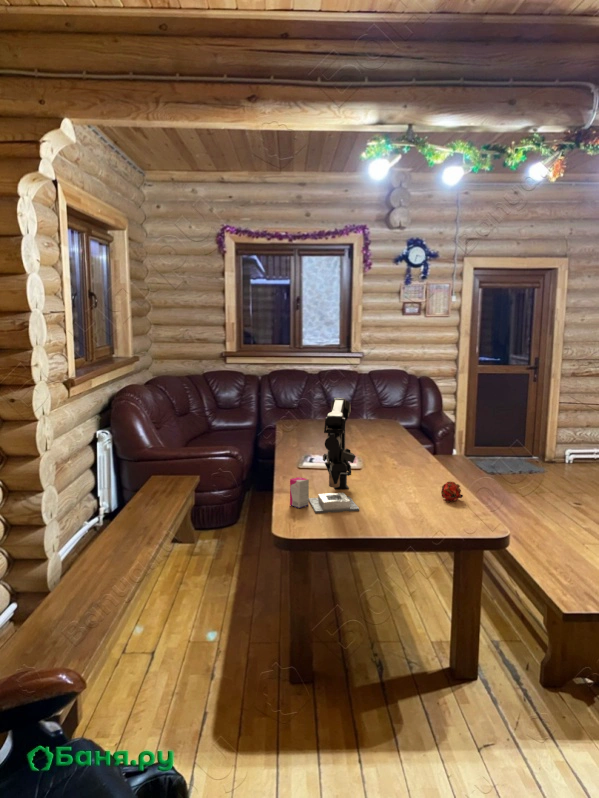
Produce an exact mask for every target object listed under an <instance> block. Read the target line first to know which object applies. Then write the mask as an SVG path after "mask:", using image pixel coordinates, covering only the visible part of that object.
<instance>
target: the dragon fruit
mask: <svg viewBox="0 0 599 798" xmlns="http://www.w3.org/2000/svg"><path fill="white" fill-rule="evenodd" d="M460 487H461V485H460V484H457V483H456V482H455V481H447V482H445V483H444V484H443V485H442V486H441V490H440V491H441V492H440V494H441V498H442V499H445V501H446V502H448V503H451V502H452V501H454V502H456V501H457V500H459V499H462V498H463V497H464V494H461V493H462V489H461V488H460Z"/></svg>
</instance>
